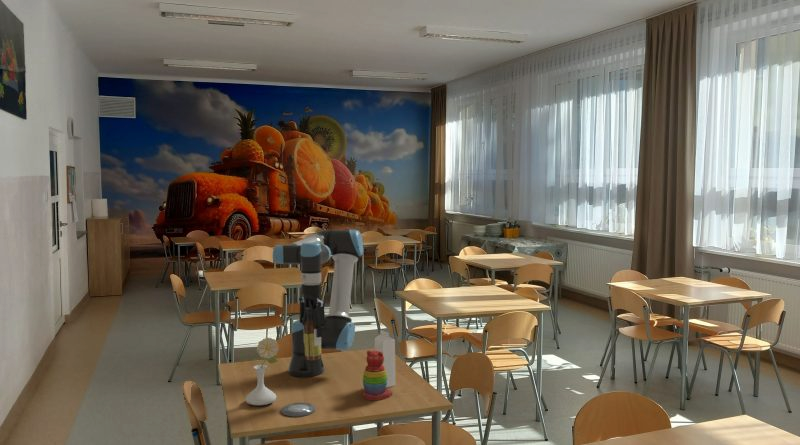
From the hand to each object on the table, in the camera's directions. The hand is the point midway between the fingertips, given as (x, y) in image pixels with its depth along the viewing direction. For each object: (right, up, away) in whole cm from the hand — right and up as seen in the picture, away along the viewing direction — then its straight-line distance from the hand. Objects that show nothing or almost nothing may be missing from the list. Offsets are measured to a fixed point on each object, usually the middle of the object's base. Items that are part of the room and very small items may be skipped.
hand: (312, 343), depth 243 cm
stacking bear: (+24, -21, +3) cm, 32 cm away
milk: (+27, -20, +15) cm, 37 cm away
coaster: (-4, -22, -11) cm, 25 cm away
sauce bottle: (0, -6, 0) cm, 6 cm away
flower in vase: (-18, -22, -3) cm, 28 cm away
